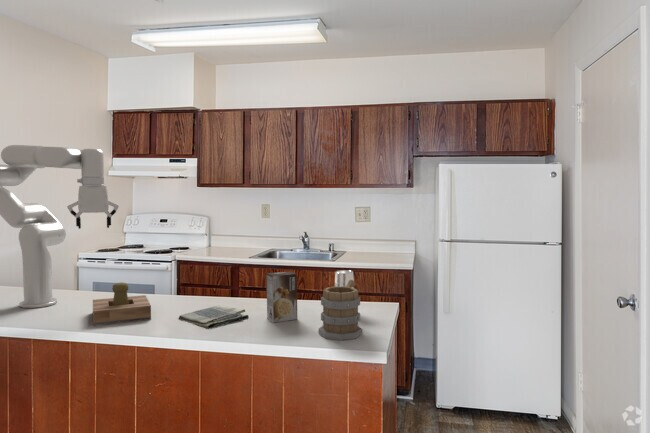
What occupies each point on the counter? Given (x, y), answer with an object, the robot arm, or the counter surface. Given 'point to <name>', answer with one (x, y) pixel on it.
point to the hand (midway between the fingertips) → (94, 227)
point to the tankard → (340, 313)
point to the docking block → (121, 310)
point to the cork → (120, 294)
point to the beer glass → (343, 277)
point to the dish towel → (214, 316)
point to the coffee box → (281, 296)
